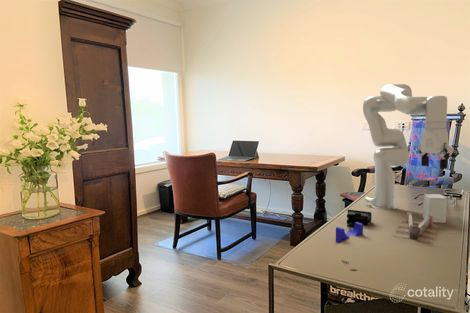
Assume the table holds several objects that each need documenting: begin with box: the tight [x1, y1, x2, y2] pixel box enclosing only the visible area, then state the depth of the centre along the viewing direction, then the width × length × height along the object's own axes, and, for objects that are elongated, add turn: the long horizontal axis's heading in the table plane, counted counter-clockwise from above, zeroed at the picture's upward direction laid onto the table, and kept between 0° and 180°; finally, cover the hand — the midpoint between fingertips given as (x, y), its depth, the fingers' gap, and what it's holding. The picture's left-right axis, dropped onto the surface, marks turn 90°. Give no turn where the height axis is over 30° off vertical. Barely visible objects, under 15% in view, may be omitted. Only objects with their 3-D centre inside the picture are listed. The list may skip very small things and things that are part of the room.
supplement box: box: [422, 193, 448, 223], centre depth 153 cm, size 7×7×13 cm
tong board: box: [393, 218, 439, 244], centre depth 140 cm, size 24×14×6 cm, turn 146°
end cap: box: [346, 208, 373, 228], centre depth 152 cm, size 10×7×7 cm
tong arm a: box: [406, 212, 413, 234], centre depth 143 cm, size 19×2×4 cm, turn 154°
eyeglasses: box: [413, 193, 457, 208], centre depth 184 cm, size 16×19×5 cm
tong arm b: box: [418, 215, 434, 236], centre depth 140 cm, size 19×2×4 cm, turn 138°
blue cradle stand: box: [335, 222, 364, 244], centre depth 137 cm, size 12×4×6 cm, turn 118°
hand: (434, 167), depth 141 cm, fingers open, 9 cm apart
